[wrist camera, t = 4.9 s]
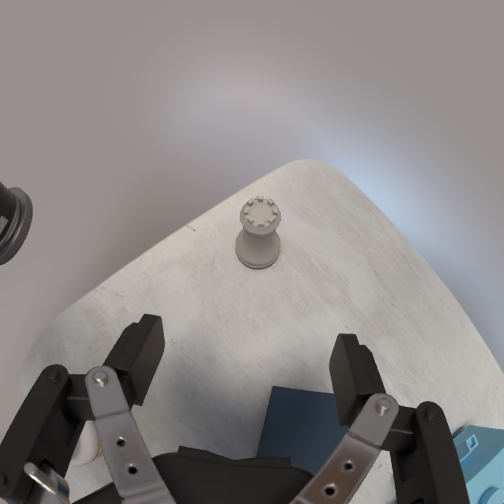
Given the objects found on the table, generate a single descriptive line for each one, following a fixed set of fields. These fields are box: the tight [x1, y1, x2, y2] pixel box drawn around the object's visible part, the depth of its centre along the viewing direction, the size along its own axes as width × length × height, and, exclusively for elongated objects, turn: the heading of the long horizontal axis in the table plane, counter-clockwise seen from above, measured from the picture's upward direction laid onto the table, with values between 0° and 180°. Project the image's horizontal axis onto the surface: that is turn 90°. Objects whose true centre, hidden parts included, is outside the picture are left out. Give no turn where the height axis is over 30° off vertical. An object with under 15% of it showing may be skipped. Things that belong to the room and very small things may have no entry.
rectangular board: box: [256, 386, 348, 475], centre depth 21 cm, size 18×8×1 cm, turn 168°
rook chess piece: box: [236, 196, 281, 268], centre depth 26 cm, size 4×4×8 cm
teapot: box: [453, 425, 504, 504], centre depth 14 cm, size 16×18×11 cm
